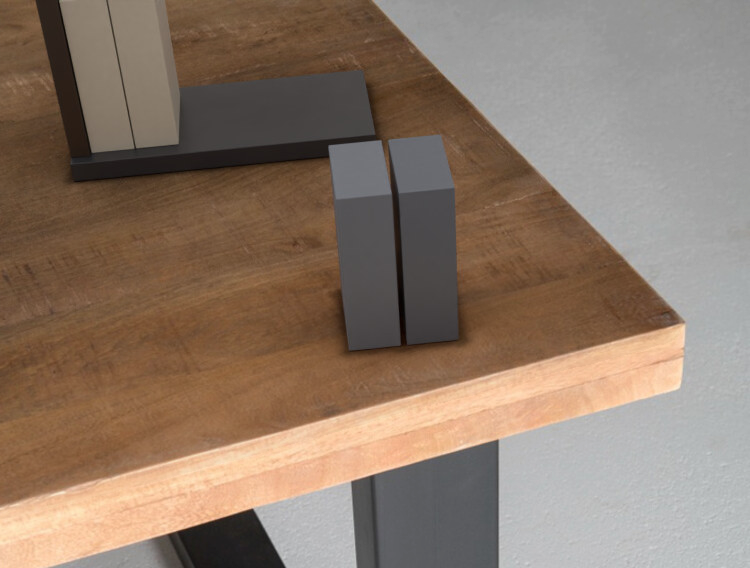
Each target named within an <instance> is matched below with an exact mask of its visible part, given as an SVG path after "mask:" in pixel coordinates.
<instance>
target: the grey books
mask: <svg viewBox="0 0 750 568" xmlns="http://www.w3.org/2000/svg"><path fill="white" fill-rule="evenodd" d="M328 148H329V156H328V157H329V169H330V179H331V190H332V202H333V212H334V224H335V235H336V246H337V257H338V268H339V270H338V271H339V281H340V290H341V298H342V306H343V315H344V323H345V329H346V339H347V345H348V351H349V352H353V351H354V352H355V351H363V350H364V351H365V350H373V349H381V348H383V349H384V348H391V347H392V348H393V347H400V346H401V345H402V343H401V342H402V341H401V339H402V338H401V325H400V324H401V323H400V322H401V321H400V315H401V319H402V325H403V330H404V335H405V341H406V345H407V346H413V345H419V344H420V345H422V344H430V343H432V344H433V343H439V342H442V343H443V342H451V341H458V340H459V339H460V338H459V302H458V301H459V300H458V299H459V298H458V295H459V294H458V268H457V266H458V260H457V259H458V257H457V219H456V217H457V215H456V187H455V183H454V180H453V175H452V172H451V168H450V165H449V161H448V157H447V153H446V150H445V149H446V148H445V145H444V142H443V138H442V135H441V134H432V135H431V134H430V135H423V136H422V135H421V136H411V137H401V138H392V139H388V140H387V149H388V151H387V152H388V163H389V164H388V165H389V166H388V167H389V171H388V167H387V161H386V156H385V152H384V146H383V141H382V140H379V139H378V140H376V141H369V142H358V143H348V144H338V145H329V146H328ZM399 308H400V309H399Z"/></svg>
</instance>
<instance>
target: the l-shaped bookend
mask: <svg viewBox="0 0 750 568" xmlns="http://www.w3.org/2000/svg"><path fill="white" fill-rule="evenodd" d="M34 1H35V5H36V10H37V14H38V19H39V23H40V27H41V32H42V36H43V40H44V45H45V50H46V53H47V59H48V62H49V66H50V71H51V76H52V79H53V84H54V89H55V94H56V98H57V103H58V107H59V112H60V115H61V120H62V121H61V122H62V124H63V129H64V134H65V138H66V142H67V146H68V151H69V155H70V163H69V166H70V170H71V173H72V179H73V181H74V182H83V181H92V180H101V179H102V180H103V179H113V178H123V177H133V176H134V177H135V176H143V175H152V174H162V173H163V174H165V173H173V172H174V173H175V172H183V171H193V170H203V169H213V168H215V169H216V168H224V167H234V166H244V165H245V166H246V165H254V164H255V165H256V164H264V163H275V162H285V161H286V162H287V161H294V160H295V161H297V160H305V159H306V160H307V159H315V158H326V157H329V148H328V146H329V145H338V144H348V143H358V142H369V141H377V138H376V137H377V136H376V130H375V126H374V125H375V124H374V119H373V115H372V109H371V103H370V98H369V93H368V88H367V84H366V77H365V72H364V69H356V70H355V69H354V70H348V71H347V70H346V71H337V72H335V71H334V72H327V73H326V72H325V73H316V74H315V73H313V74H304V75H295V76H293V75H292V76H285V77H283V76H282V77H273V78H264V79H253V80H243V81H242V80H241V81H232V82H223V83H213V84H203V85H193V86H191V85H190V86H183V87H180V85H179V79H178V73H177V67H176V61H175V55H174V48H173V43H172V36H171V29H170V24H169V18H168V12H167V11H168V10H167V5H166V0H34Z"/></svg>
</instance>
